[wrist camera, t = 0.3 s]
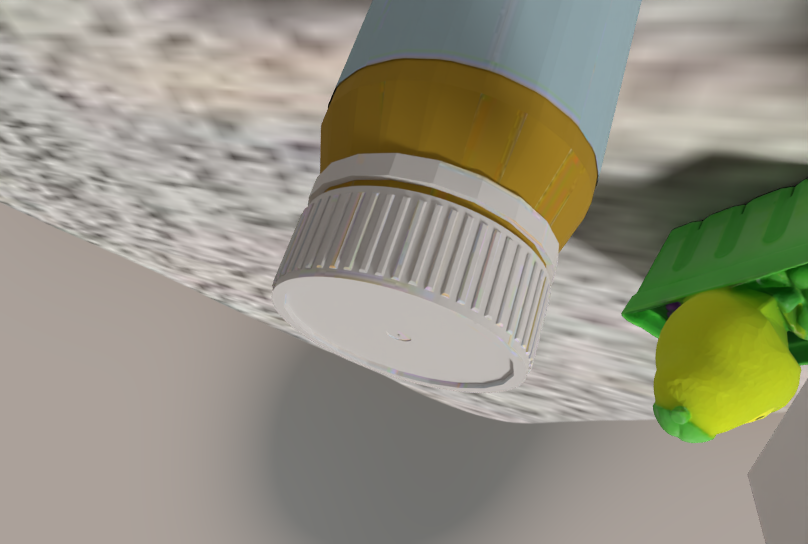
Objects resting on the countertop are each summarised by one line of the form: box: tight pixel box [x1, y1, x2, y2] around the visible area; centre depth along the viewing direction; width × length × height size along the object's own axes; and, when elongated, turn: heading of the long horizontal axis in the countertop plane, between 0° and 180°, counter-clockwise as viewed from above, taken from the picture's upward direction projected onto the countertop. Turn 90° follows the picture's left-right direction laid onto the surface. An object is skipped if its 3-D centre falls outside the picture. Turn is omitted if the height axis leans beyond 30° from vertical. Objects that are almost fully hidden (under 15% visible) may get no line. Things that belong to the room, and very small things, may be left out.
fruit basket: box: [621, 179, 808, 443], centre depth 33 cm, size 11×9×11 cm
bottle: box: [272, 0, 642, 393], centre depth 21 cm, size 7×7×15 cm
